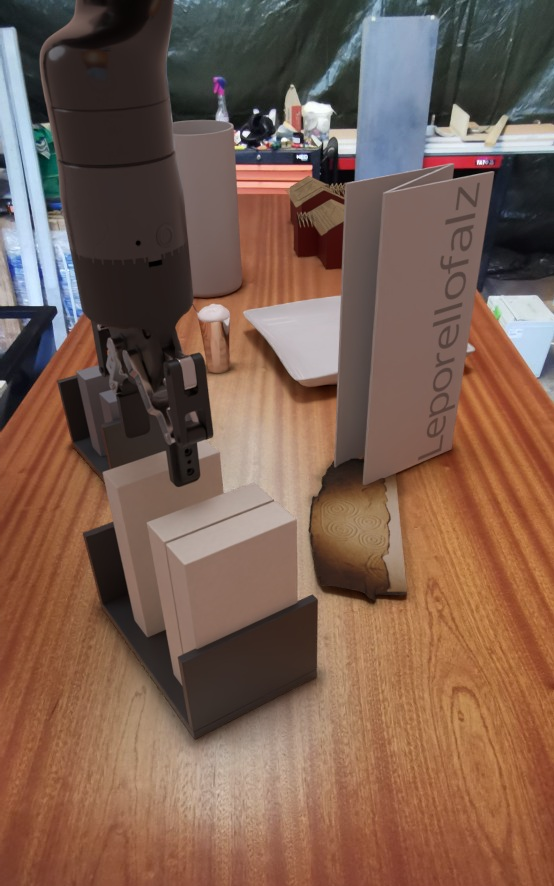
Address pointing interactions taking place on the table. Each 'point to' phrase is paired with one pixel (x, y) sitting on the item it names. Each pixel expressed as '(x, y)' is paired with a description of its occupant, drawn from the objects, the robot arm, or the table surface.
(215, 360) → the milkshake
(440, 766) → the table surface
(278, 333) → the square plate
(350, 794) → the table surface
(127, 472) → the white book
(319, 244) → the toy houses
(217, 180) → the cylinder vase
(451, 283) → the brochure
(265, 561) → the book holder
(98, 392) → the grey rack
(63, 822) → the table surface
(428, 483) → the table surface
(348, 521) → the parchment
